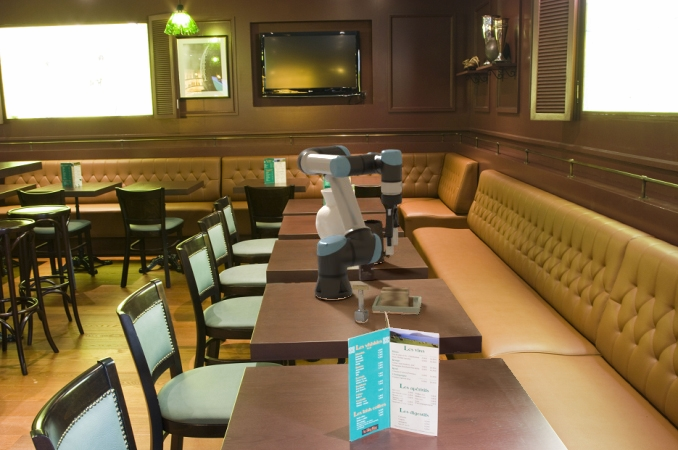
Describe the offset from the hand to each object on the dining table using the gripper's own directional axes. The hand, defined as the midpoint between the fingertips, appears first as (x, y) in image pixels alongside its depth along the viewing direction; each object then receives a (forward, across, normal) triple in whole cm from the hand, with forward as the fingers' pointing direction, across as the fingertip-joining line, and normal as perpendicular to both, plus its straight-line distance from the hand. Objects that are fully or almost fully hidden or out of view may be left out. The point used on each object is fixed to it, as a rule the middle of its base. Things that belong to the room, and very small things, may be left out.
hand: (392, 249), depth 236 cm
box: (+23, +32, +15) cm, 42 cm away
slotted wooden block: (+21, -3, -1) cm, 21 cm away
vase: (+24, +90, +41) cm, 101 cm away
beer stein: (+23, +59, +15) cm, 65 cm away
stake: (+22, -18, +9) cm, 29 cm away
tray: (+22, -3, -2) cm, 22 cm away
